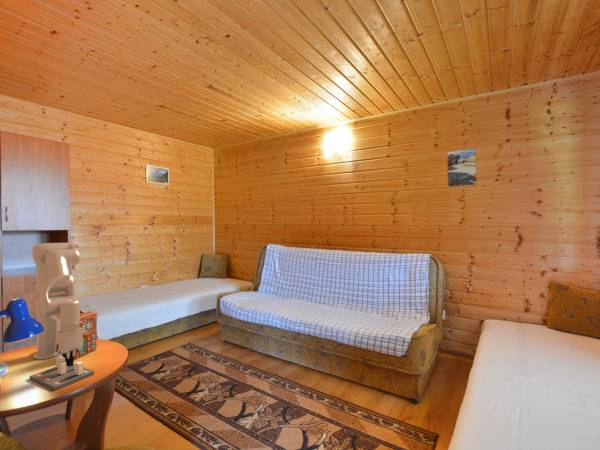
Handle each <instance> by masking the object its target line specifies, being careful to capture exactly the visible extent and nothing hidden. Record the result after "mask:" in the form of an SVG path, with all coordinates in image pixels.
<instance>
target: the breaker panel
mask: <svg viewBox="0 0 600 450" xmlns="http://www.w3.org/2000/svg"><path fill="white" fill-rule="evenodd" d="M93 375H95V371H94V370H92V369H88V368H87V367H84V366H83V374H81V375H77V374H75V363H73V366H70V367H69V366H66V373H64V374H62V375H61V374H58V367H57V365H56V366H54V367H51V368H48V369H46V370H43V371H40V372H37V373H34V374H31V375H29V381H32V382H34V383H37V384H39V385H41V386H44V387H46V388H48V389H51V390H53V391H58V390H61V389H63V388H66V387H68V386H70V385H73V384H74V383H77V382H81V381H82V380H85V379H87V378H89V377H91V376H93Z"/></svg>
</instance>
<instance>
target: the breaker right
mask: <svg viewBox="0 0 600 450" xmlns="http://www.w3.org/2000/svg"><path fill="white" fill-rule="evenodd" d="M74 364H75V374H77V375H81V374H83V367H84V362H83V361H81V360H79V361H75V362H74Z"/></svg>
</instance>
